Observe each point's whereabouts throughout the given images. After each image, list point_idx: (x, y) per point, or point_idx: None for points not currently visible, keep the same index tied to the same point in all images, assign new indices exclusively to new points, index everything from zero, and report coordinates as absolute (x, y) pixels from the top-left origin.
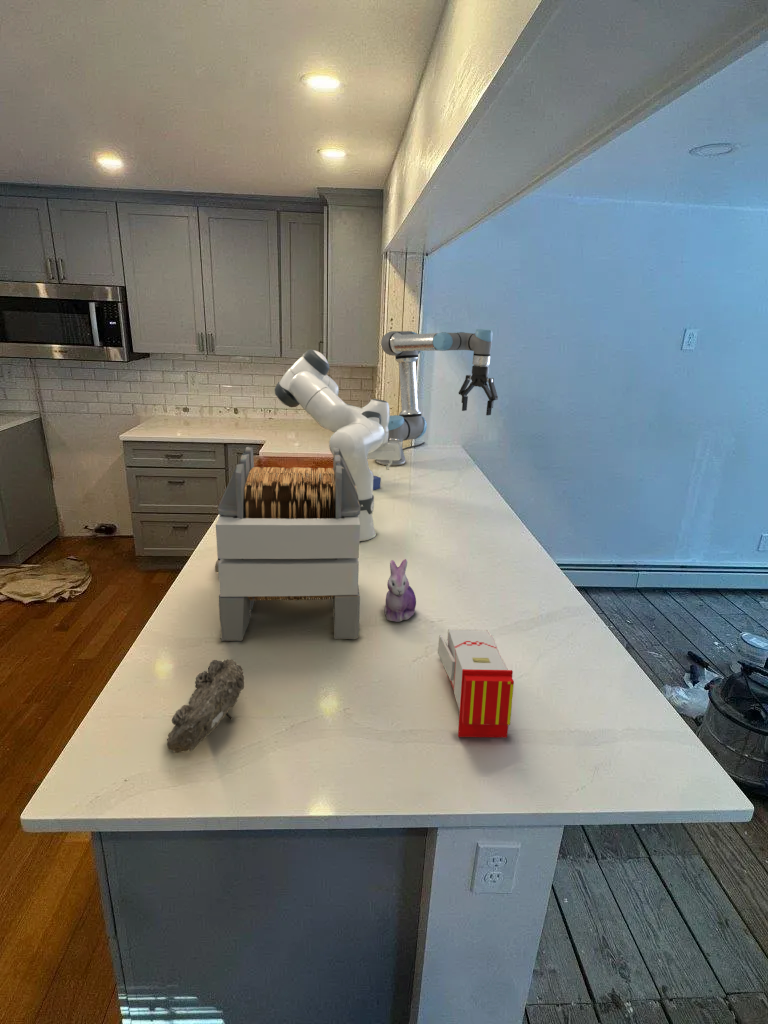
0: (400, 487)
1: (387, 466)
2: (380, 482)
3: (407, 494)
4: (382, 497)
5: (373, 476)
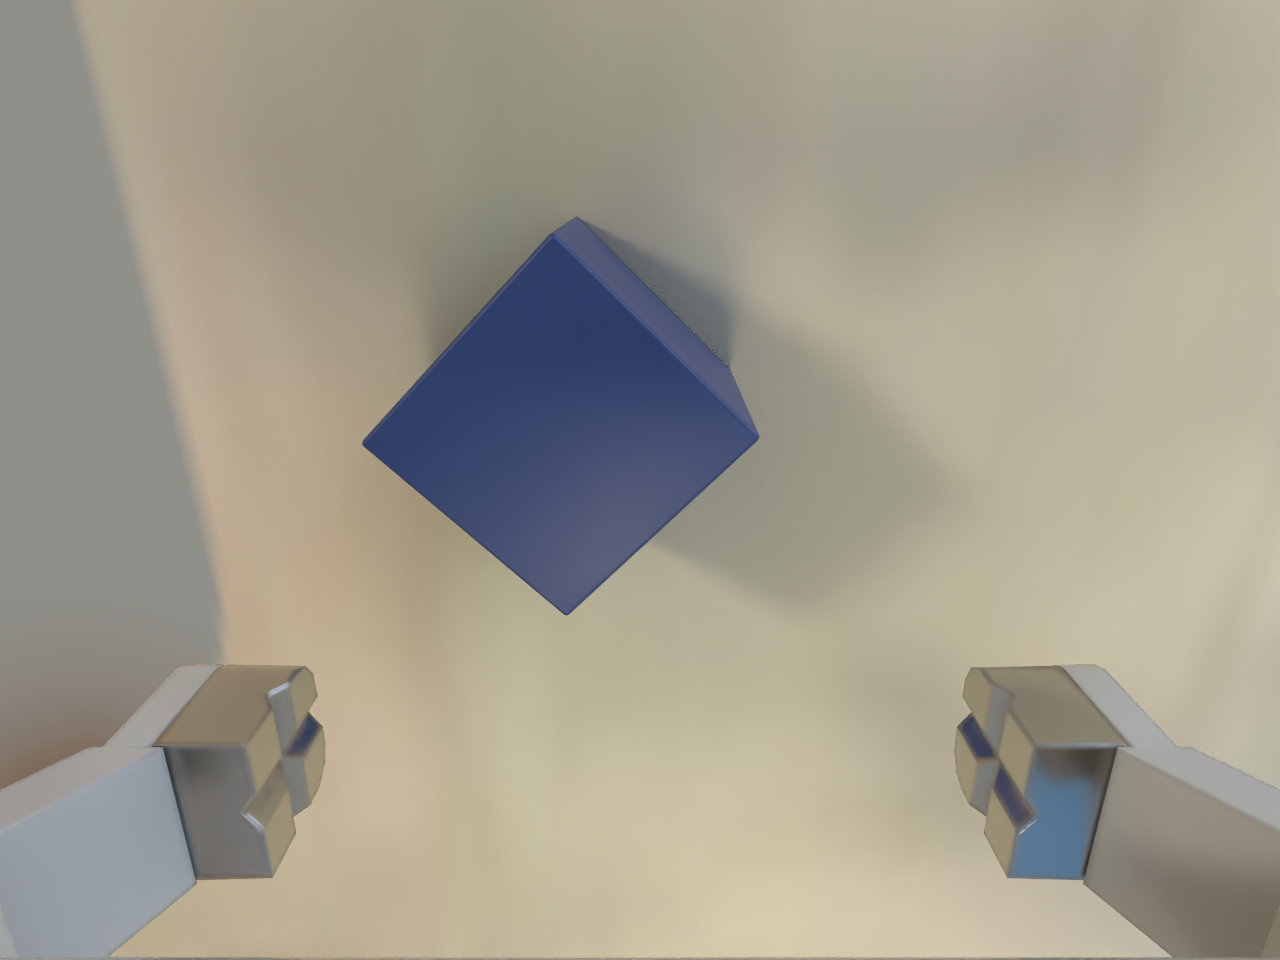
0: (1163, 252)
1: (1057, 869)
2: (743, 403)
3: (1184, 651)
4: (746, 820)
5: (564, 367)
